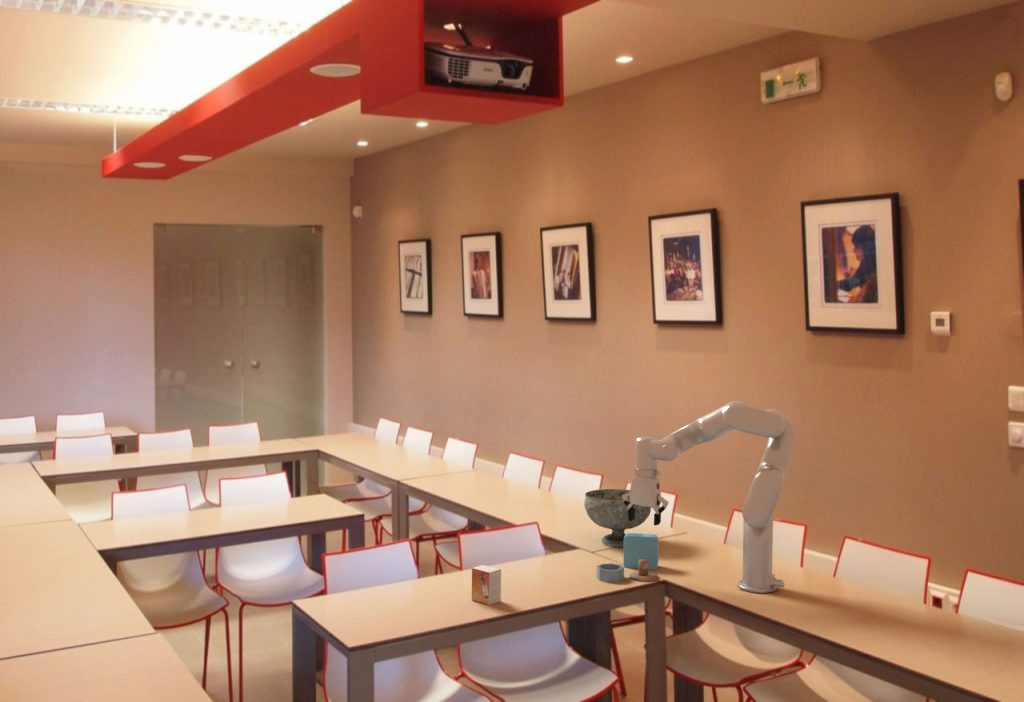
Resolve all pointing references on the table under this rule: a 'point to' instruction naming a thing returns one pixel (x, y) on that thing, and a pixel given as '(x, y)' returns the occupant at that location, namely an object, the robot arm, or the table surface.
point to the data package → (640, 550)
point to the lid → (643, 572)
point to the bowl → (610, 572)
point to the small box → (486, 584)
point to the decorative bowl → (613, 513)
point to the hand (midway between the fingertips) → (644, 522)
